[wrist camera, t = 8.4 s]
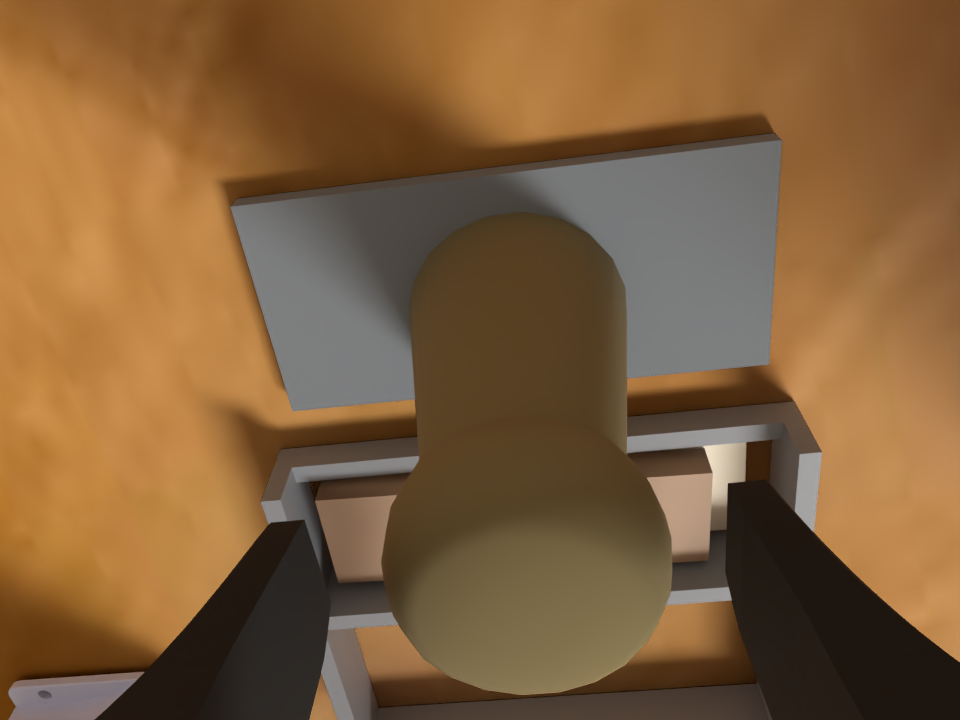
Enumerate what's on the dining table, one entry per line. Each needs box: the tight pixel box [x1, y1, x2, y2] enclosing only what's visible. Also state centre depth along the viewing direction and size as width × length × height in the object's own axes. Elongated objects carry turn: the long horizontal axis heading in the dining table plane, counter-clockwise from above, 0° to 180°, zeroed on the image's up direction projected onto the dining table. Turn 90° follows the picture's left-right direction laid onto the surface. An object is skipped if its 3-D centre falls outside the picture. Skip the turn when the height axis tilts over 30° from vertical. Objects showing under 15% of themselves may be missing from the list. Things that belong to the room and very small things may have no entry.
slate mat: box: [230, 133, 782, 411], centre depth 23 cm, size 14×6×1 cm, turn 98°
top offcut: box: [315, 448, 713, 583], centre depth 26 cm, size 12×4×1 cm, turn 96°
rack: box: [261, 401, 822, 720], centre depth 28 cm, size 16×14×2 cm
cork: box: [381, 212, 672, 695], centre depth 18 cm, size 6×6×11 cm
